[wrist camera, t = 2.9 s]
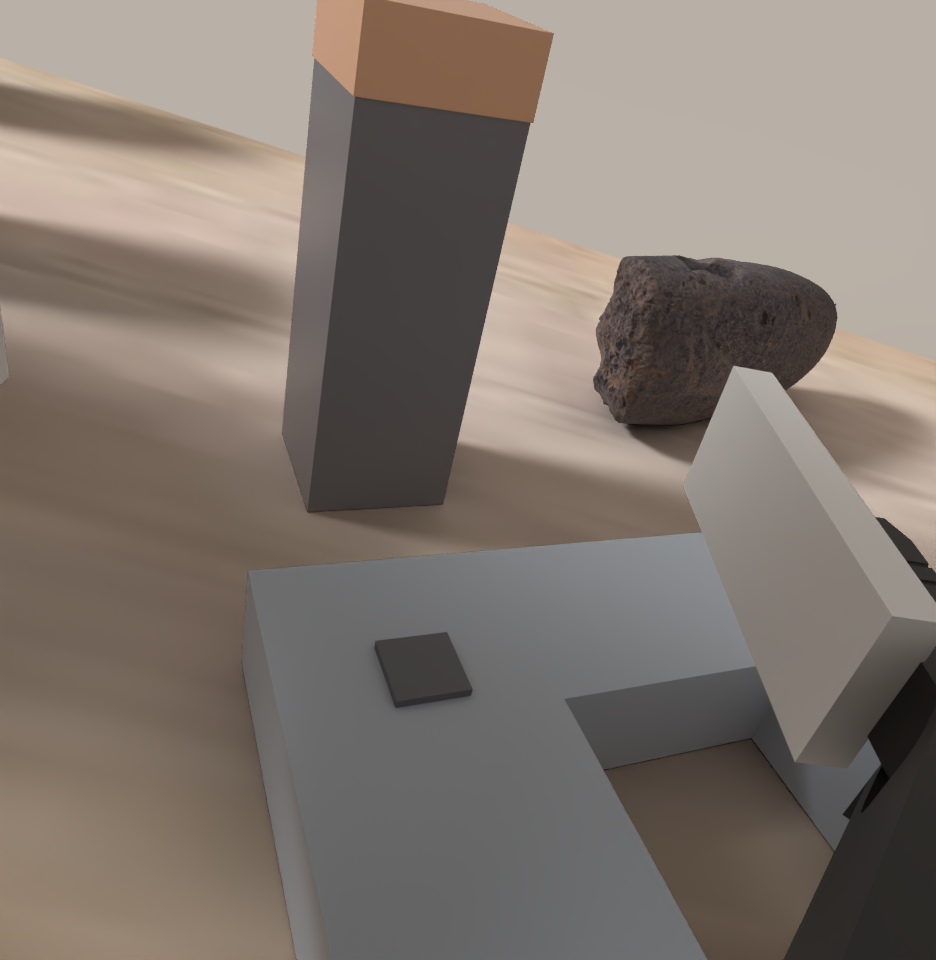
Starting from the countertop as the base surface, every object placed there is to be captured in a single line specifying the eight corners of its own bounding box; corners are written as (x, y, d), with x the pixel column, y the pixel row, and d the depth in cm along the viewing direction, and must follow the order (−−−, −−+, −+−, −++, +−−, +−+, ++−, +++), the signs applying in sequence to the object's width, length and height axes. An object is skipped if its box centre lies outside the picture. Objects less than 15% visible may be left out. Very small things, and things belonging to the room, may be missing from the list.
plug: (306, 513, 25) (364, -5, 17) (280, 432, 28) (319, -31, 21) (444, 505, 27) (554, 33, 19) (404, 430, 30) (484, 4, 22)
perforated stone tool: (762, 367, 43) (820, 239, 39) (841, 419, 39) (913, 284, 36) (534, 392, 35) (578, 235, 31) (608, 459, 32) (667, 292, 28)
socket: (466, 1886, 8) (550, 1945, 6) (242, 662, 20) (248, 563, 18) (1356, 1180, 15) (1511, 1115, 13) (800, 591, 27) (844, 515, 25)
